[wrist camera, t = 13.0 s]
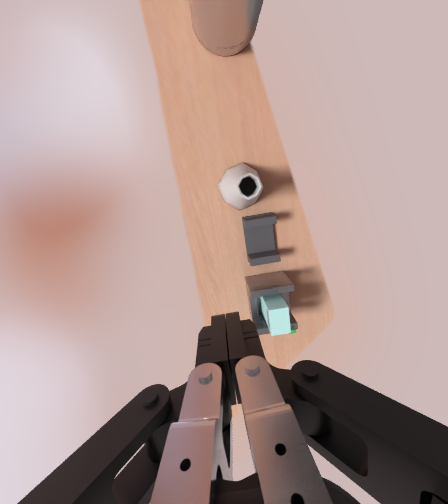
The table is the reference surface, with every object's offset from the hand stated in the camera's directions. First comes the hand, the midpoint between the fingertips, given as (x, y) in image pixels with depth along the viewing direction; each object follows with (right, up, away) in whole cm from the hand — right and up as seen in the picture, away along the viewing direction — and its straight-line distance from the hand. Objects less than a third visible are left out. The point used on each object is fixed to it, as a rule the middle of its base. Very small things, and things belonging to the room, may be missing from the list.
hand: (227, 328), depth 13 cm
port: (+8, -4, +31) cm, 32 cm away
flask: (+3, +15, +26) cm, 30 cm away
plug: (+8, -4, +30) cm, 31 cm away
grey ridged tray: (+6, +7, +28) cm, 30 cm away
